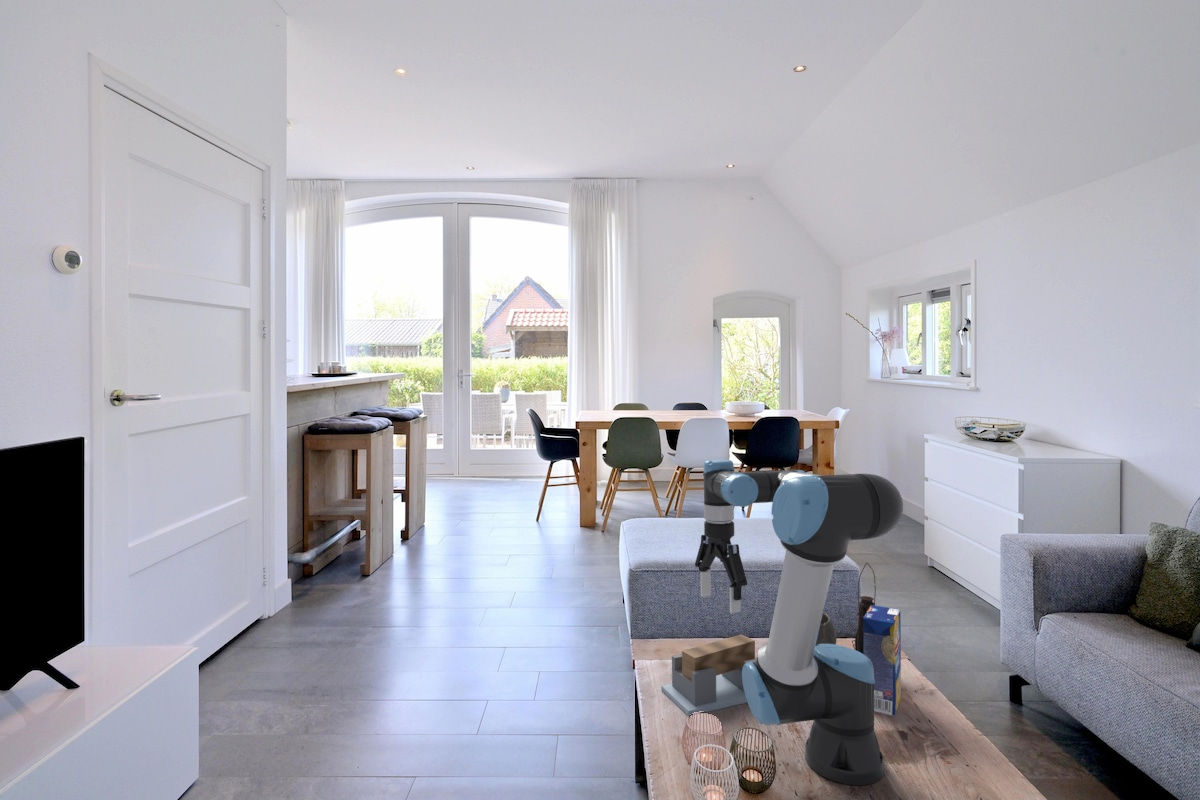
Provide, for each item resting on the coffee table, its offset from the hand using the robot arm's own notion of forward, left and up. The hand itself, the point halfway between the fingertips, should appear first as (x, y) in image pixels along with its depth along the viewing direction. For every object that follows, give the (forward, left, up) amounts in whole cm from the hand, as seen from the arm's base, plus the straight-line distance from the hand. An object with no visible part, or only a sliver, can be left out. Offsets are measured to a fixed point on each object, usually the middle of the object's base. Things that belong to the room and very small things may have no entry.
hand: (720, 604), depth 160 cm
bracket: (0, 0, -23) cm, 23 cm away
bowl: (+8, -33, -23) cm, 41 cm away
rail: (+1, 0, -17) cm, 17 cm away
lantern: (-6, -43, -23) cm, 49 cm away
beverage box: (-20, -34, -23) cm, 45 cm away
